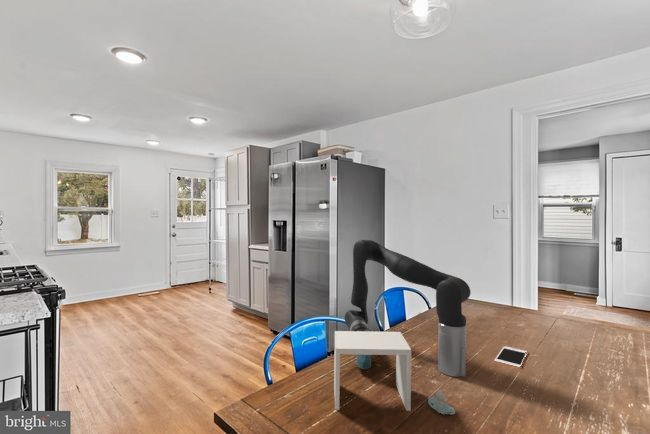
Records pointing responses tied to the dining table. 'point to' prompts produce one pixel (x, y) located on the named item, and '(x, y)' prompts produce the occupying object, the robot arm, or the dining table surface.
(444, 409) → the pacifier
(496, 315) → the dining table surface
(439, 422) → the dining table surface
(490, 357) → the dining table surface
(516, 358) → the cell phone
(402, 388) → the low shelf
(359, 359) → the teal bottle
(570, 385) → the dining table surface
